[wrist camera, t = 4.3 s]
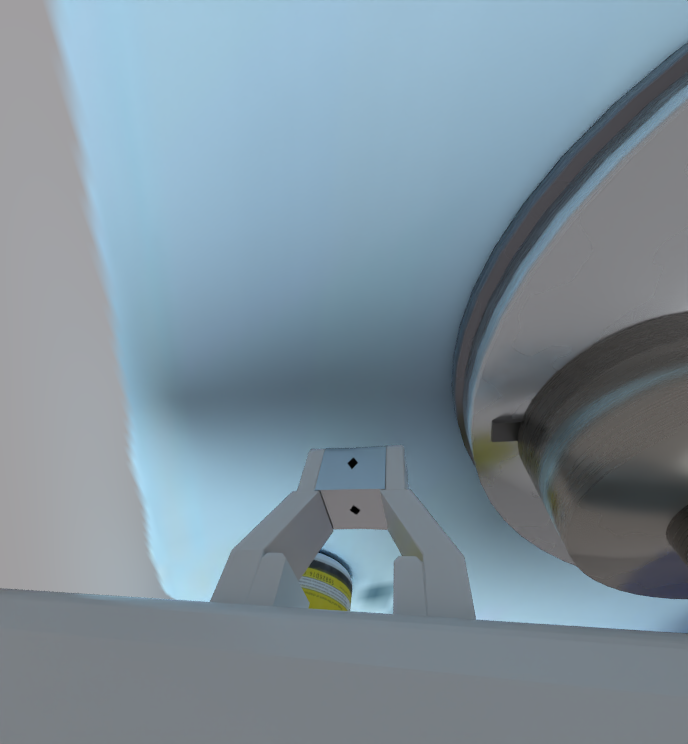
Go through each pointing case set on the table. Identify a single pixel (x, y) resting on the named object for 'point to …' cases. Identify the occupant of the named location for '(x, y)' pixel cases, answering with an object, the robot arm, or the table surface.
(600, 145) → the turntable base
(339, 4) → the table surface
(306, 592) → the pill bottle
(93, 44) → the table surface
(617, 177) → the turntable
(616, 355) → the cover
